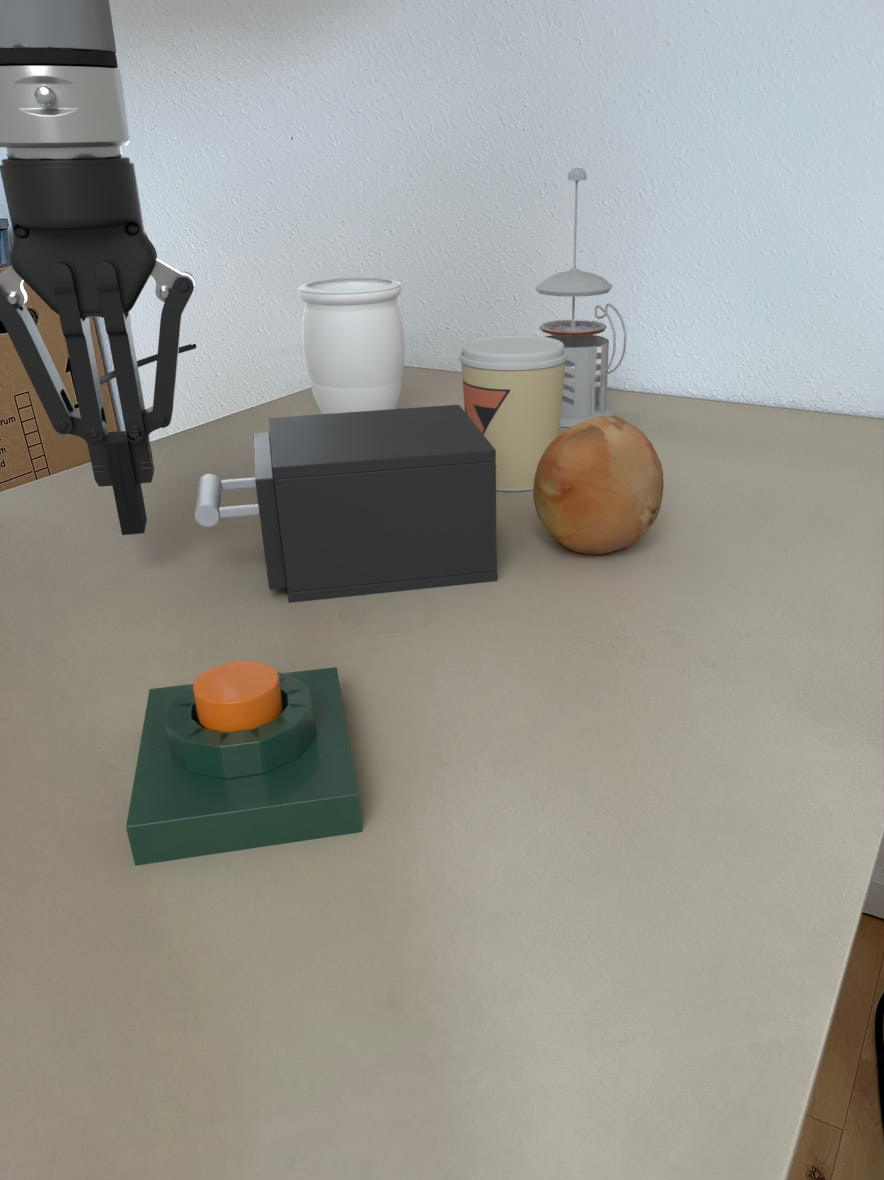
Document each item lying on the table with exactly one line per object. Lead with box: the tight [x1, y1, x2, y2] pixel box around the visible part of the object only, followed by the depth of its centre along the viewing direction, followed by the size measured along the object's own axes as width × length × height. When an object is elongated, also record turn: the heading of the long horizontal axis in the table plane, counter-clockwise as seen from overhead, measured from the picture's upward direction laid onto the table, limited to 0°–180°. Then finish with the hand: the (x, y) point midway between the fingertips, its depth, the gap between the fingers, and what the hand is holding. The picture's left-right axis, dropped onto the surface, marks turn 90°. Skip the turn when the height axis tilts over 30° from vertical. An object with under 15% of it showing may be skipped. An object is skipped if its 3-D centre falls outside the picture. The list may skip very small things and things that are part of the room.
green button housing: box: [125, 666, 363, 867], centre depth 48 cm, size 12×10×4 cm
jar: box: [296, 277, 406, 414], centre depth 101 cm, size 11×10×15 cm
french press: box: [535, 166, 627, 428], centre depth 102 cm, size 10×12×25 cm
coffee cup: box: [458, 334, 567, 492], centre depth 87 cm, size 9×9×12 cm
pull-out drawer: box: [194, 431, 287, 590], centre depth 70 cm, size 18×11×8 cm, turn 102°
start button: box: [193, 660, 283, 732], centre depth 47 cm, size 4×4×2 cm
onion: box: [532, 415, 665, 556], centre depth 72 cm, size 10×10×10 cm
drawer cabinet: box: [267, 404, 498, 604], centre depth 71 cm, size 15×13×10 cm
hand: (134, 526), depth 68 cm, fingers closed
